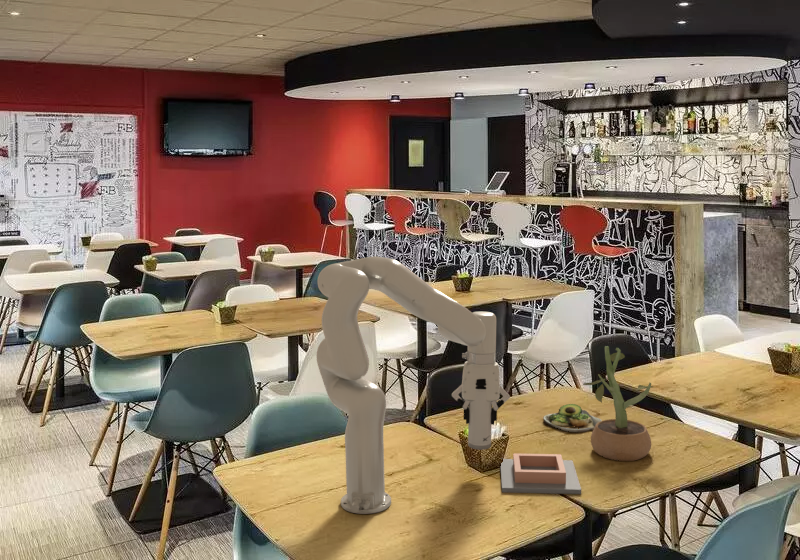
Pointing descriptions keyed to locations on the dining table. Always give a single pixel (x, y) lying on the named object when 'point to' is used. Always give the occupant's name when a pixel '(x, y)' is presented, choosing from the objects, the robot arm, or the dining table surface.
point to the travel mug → (480, 419)
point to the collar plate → (539, 474)
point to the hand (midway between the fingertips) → (480, 422)
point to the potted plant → (619, 420)
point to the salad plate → (572, 419)
